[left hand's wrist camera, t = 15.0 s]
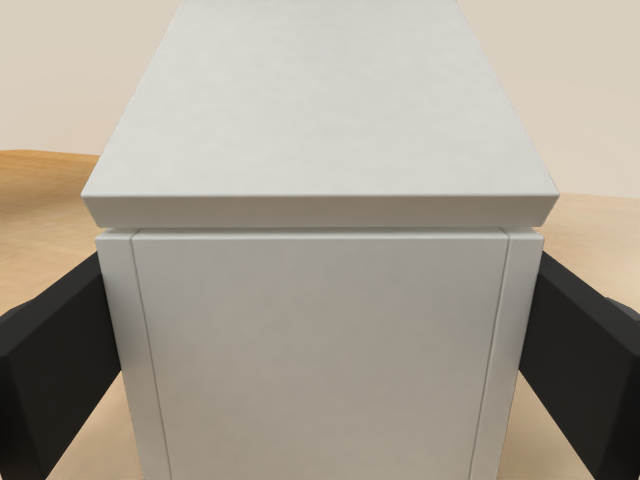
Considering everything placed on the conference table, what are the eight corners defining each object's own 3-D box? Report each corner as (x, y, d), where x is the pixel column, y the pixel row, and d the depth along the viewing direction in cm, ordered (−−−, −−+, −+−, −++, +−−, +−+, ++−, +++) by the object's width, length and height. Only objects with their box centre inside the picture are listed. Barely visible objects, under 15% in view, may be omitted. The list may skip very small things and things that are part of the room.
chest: (243, 273, 28) (233, 138, 25) (395, 273, 28) (405, 137, 25) (150, 515, 12) (93, 237, 9) (491, 514, 12) (547, 236, 9)
